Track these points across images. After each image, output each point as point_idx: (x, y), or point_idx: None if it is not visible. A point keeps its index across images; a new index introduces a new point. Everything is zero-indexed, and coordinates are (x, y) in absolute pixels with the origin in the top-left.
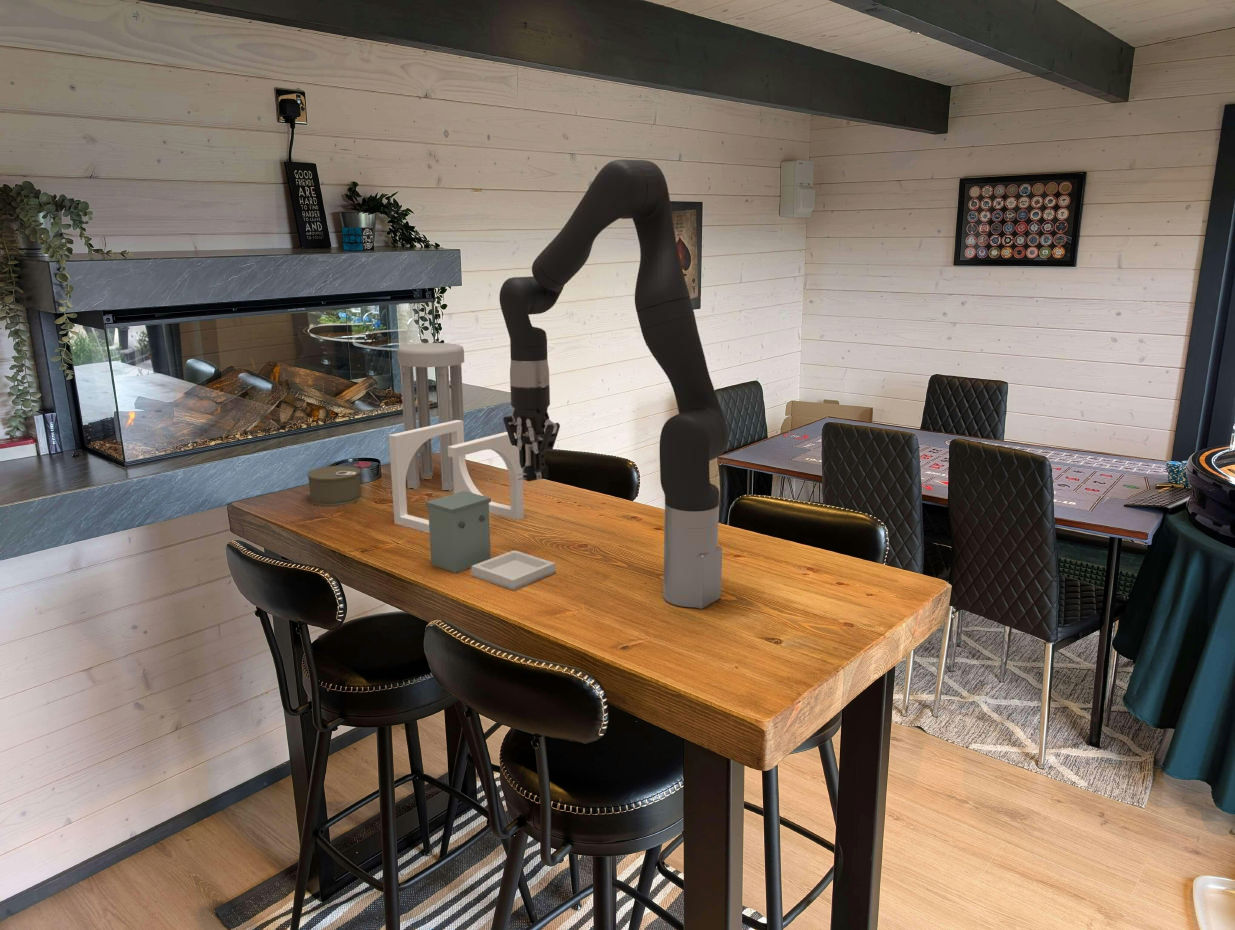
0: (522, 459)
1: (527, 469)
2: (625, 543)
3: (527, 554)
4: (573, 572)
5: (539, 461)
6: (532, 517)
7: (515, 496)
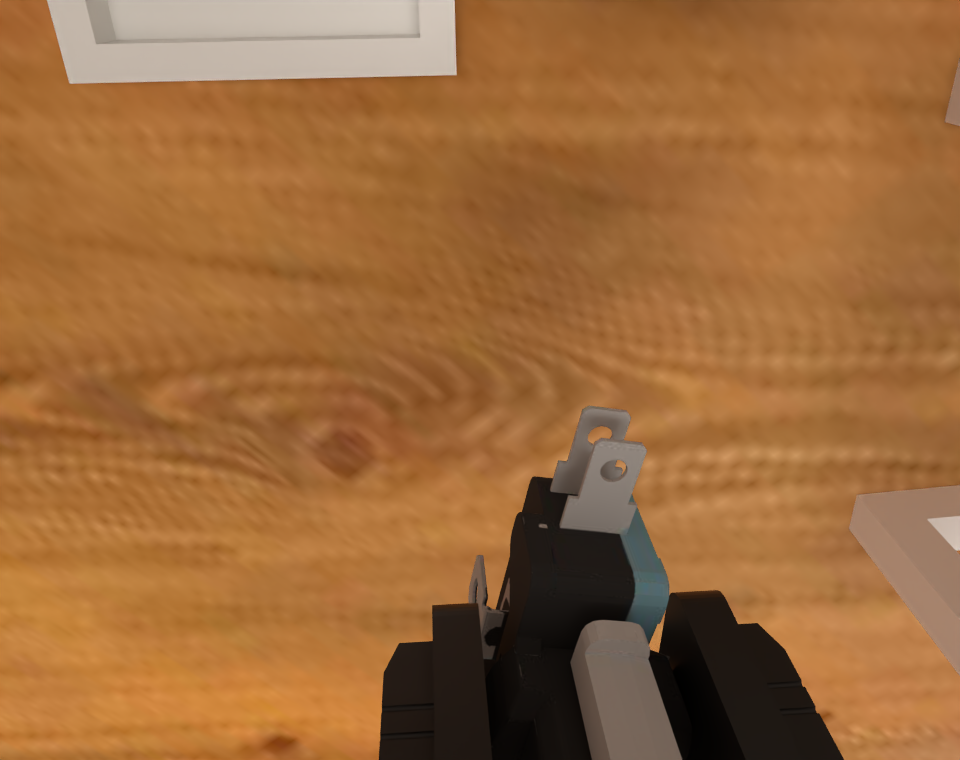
0: (722, 689)
1: (554, 573)
2: (231, 581)
3: (327, 74)
4: (46, 157)
5: (391, 744)
6: (812, 552)
7: (939, 580)
